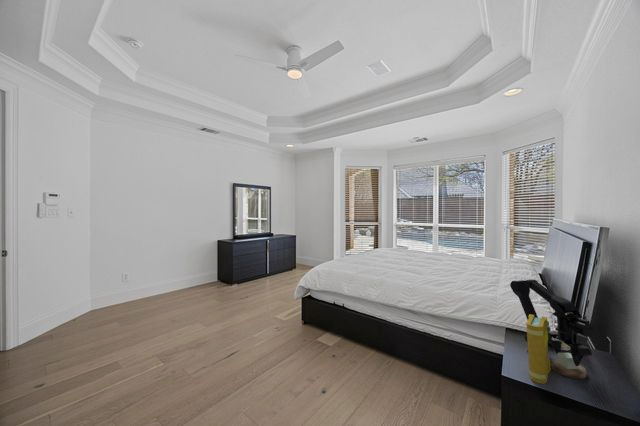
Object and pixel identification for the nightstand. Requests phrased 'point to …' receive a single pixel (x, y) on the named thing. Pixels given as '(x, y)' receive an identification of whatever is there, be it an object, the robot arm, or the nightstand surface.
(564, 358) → the sage block
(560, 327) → the robot arm
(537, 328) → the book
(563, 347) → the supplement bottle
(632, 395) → the nightstand surface
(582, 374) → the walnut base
